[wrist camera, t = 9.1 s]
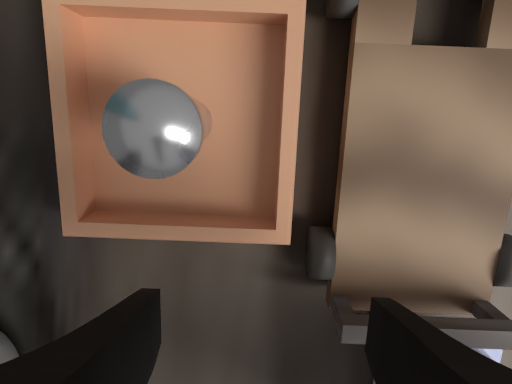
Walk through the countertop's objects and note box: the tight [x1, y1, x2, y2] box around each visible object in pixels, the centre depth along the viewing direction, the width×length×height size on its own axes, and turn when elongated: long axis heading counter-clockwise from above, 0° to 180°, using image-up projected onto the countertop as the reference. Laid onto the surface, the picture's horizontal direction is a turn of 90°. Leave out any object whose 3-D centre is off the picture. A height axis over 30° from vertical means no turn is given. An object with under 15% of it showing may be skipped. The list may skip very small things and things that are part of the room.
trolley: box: [305, 0, 512, 350], centre depth 18 cm, size 20×11×6 cm, turn 178°
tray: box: [42, 0, 306, 245], centre depth 19 cm, size 12×12×3 cm
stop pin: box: [102, 78, 212, 179], centre depth 16 cm, size 3×3×8 cm
